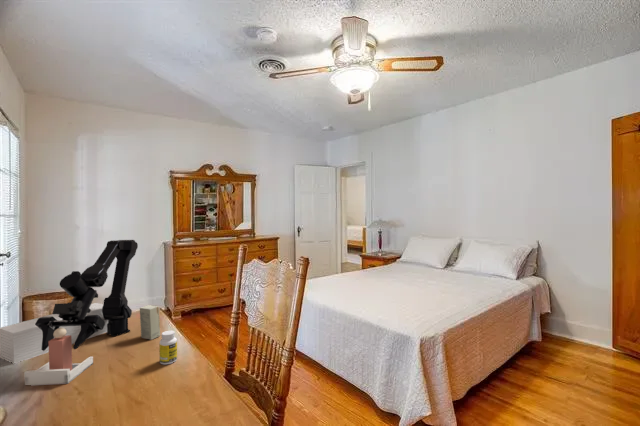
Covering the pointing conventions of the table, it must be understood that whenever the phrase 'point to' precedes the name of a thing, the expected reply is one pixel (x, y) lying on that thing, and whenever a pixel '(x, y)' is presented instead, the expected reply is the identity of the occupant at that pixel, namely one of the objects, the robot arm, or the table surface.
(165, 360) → the supplement bottle
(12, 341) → the ridged white long block
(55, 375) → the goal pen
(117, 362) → the table surface
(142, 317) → the skincare box
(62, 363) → the foosball player
